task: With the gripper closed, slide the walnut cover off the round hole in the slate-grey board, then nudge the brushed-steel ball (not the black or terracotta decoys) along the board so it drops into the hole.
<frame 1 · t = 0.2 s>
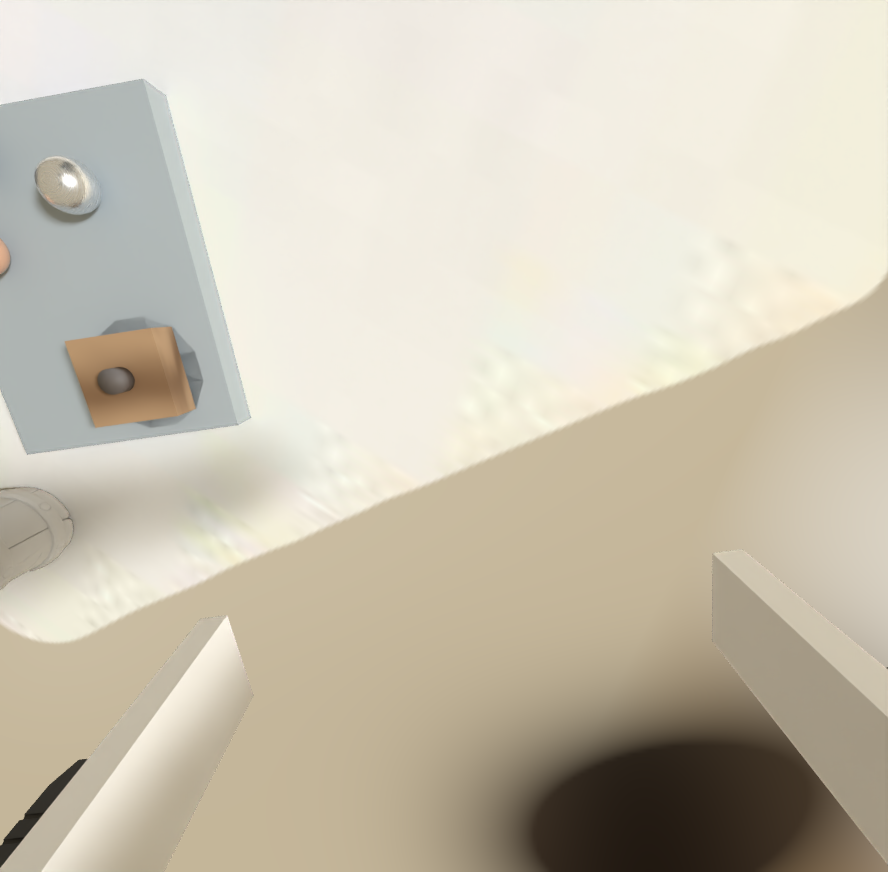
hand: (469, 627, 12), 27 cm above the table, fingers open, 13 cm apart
steel ball: (69, 185, 31), point 4 cm above the table, touching board
mug: (25, 534, 43), on the table
board: (103, 288, 36), on the table
cover: (128, 378, 34), point 5 cm above the table, slide at 0.0 cm
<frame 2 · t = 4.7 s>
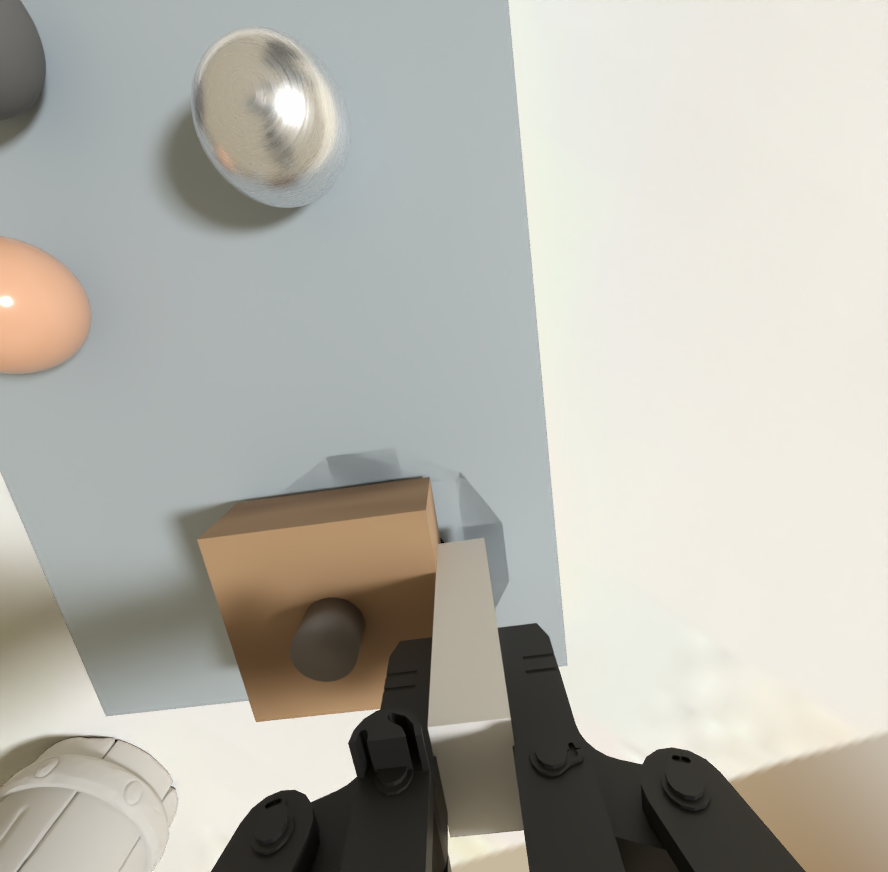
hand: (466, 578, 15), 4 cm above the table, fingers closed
steel ball: (275, 125, 11), point 4 cm above the table, touching board
mug: (86, 807, 23), on the table
board: (278, 370, 17), on the table
cover: (339, 609, 14), point 5 cm above the table, slide at 1.1 cm, touching gripper
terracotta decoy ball: (7, 306, 12), point 4 cm above the table, touching board
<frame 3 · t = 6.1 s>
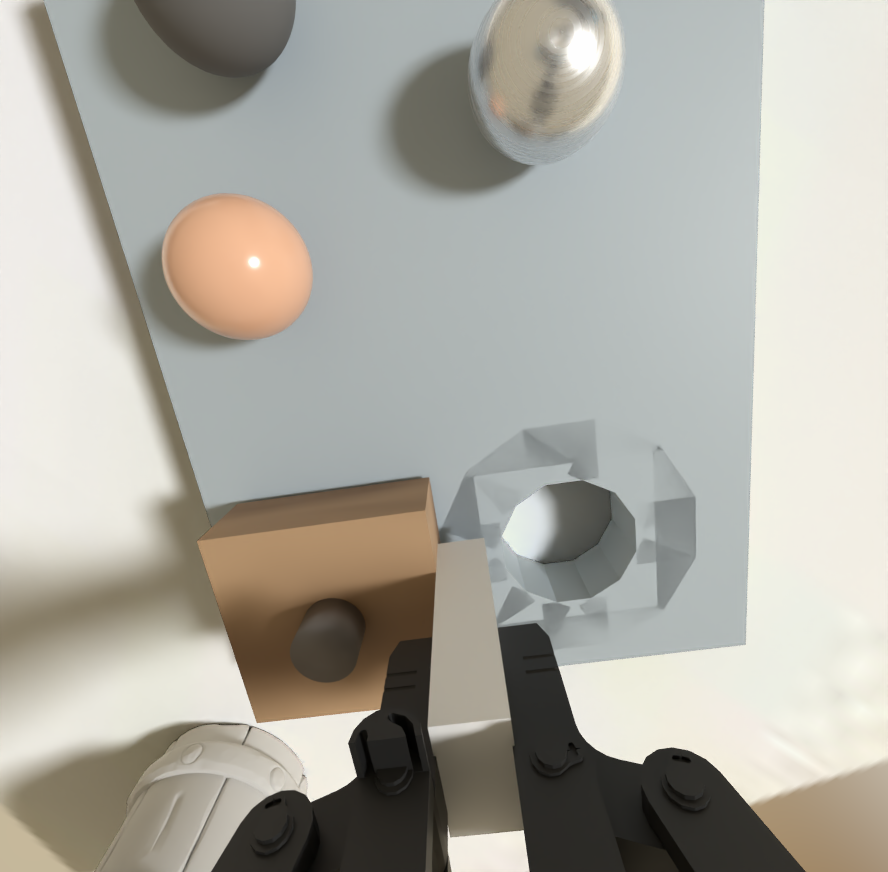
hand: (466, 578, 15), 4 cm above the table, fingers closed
steel ball: (543, 76, 10), point 4 cm above the table, touching board
mug: (211, 796, 23), on the table
board: (451, 345, 16), on the table
cover: (339, 610, 14), point 5 cm above the table, slide at 7.5 cm, touching gripper
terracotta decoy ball: (241, 270, 12), point 4 cm above the table, touching board
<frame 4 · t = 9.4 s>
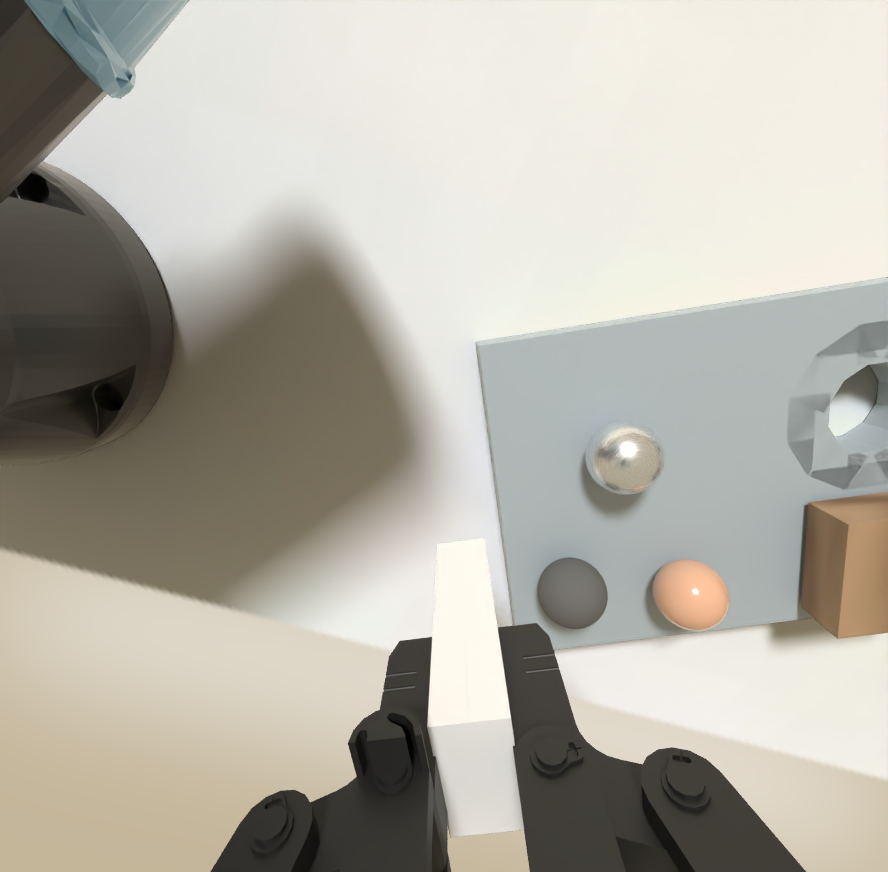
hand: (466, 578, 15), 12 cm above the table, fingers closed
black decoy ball: (571, 592, 24), point 4 cm above the table, touching board
steel ball: (624, 457, 22), point 4 cm above the table, touching board
board: (704, 467, 26), on the table
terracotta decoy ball: (689, 594, 24), point 4 cm above the table, touching board
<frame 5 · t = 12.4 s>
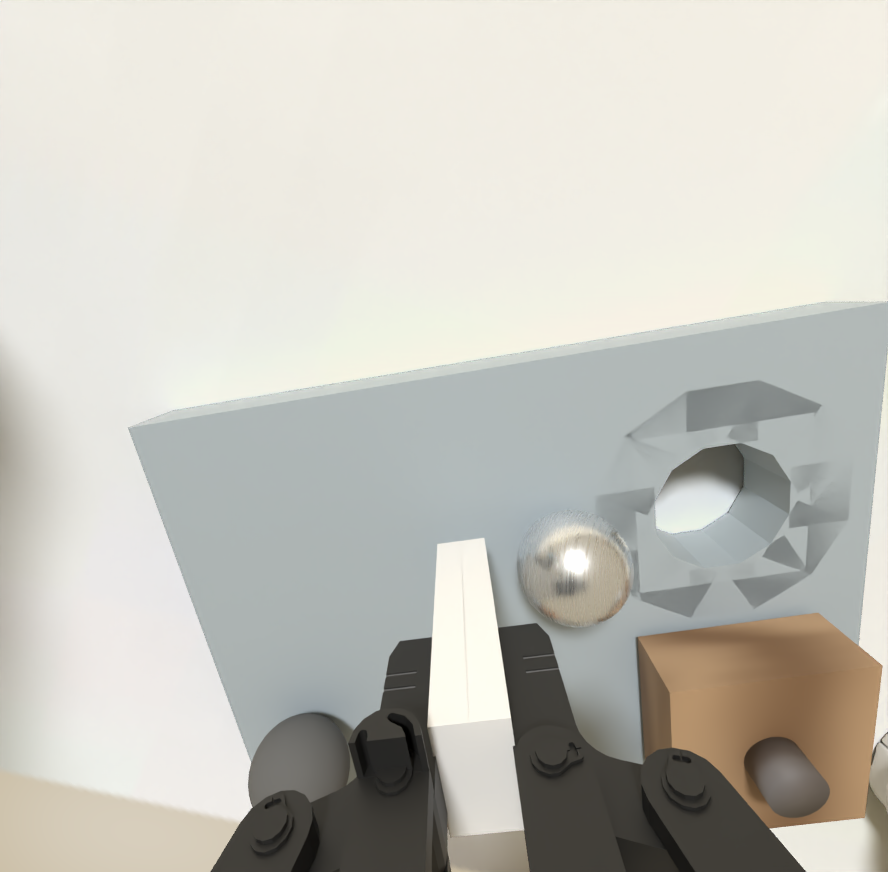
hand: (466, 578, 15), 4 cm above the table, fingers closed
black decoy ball: (300, 769, 17), point 4 cm above the table, touching board
steel ball: (573, 566, 14), point 4 cm above the table, tilted 119°, touching board
board: (517, 572, 19), on the table
cover: (758, 740, 16), point 5 cm above the table, slide at 7.7 cm
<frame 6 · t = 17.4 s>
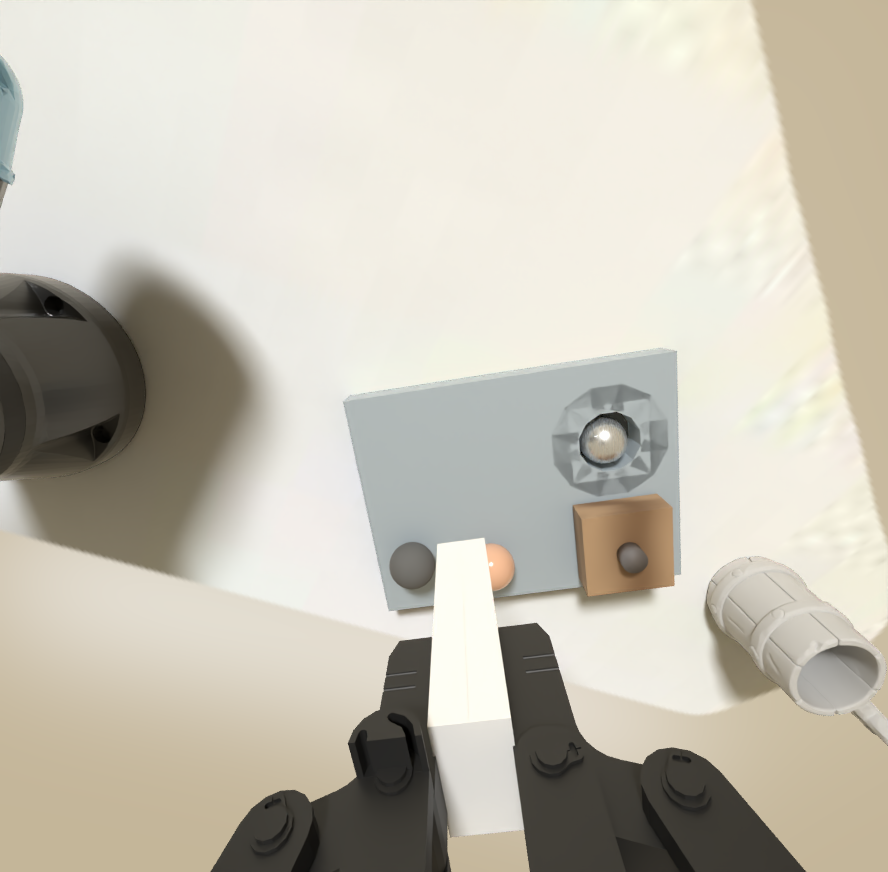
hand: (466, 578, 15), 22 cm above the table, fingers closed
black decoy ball: (412, 565, 35), point 4 cm above the table, touching board
steel ball: (602, 440, 35), point 2 cm above the table, tilted 79°
mug: (758, 604, 41), on the table
board: (515, 480, 38), on the table
cover: (625, 548, 34), point 5 cm above the table, slide at 7.7 cm
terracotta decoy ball: (491, 566, 35), point 4 cm above the table, touching board
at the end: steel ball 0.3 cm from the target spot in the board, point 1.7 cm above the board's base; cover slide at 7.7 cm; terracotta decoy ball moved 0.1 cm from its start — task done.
